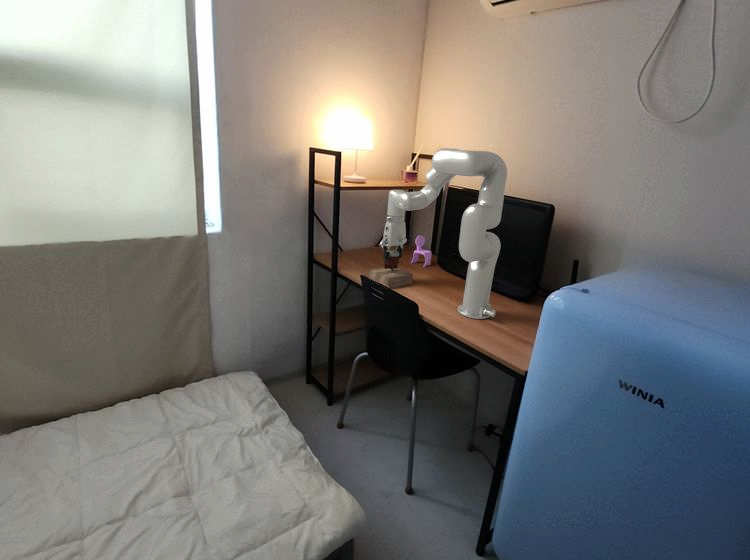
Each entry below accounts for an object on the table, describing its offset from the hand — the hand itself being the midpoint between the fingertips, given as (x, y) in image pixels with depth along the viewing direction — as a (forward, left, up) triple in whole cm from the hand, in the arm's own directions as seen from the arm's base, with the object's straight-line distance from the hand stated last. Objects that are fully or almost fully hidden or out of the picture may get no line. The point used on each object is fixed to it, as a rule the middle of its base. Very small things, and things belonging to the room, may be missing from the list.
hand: (392, 258), depth 183 cm
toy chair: (+11, -34, -11) cm, 38 cm away
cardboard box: (0, 0, -11) cm, 11 cm away
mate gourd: (0, 0, -5) cm, 5 cm away
